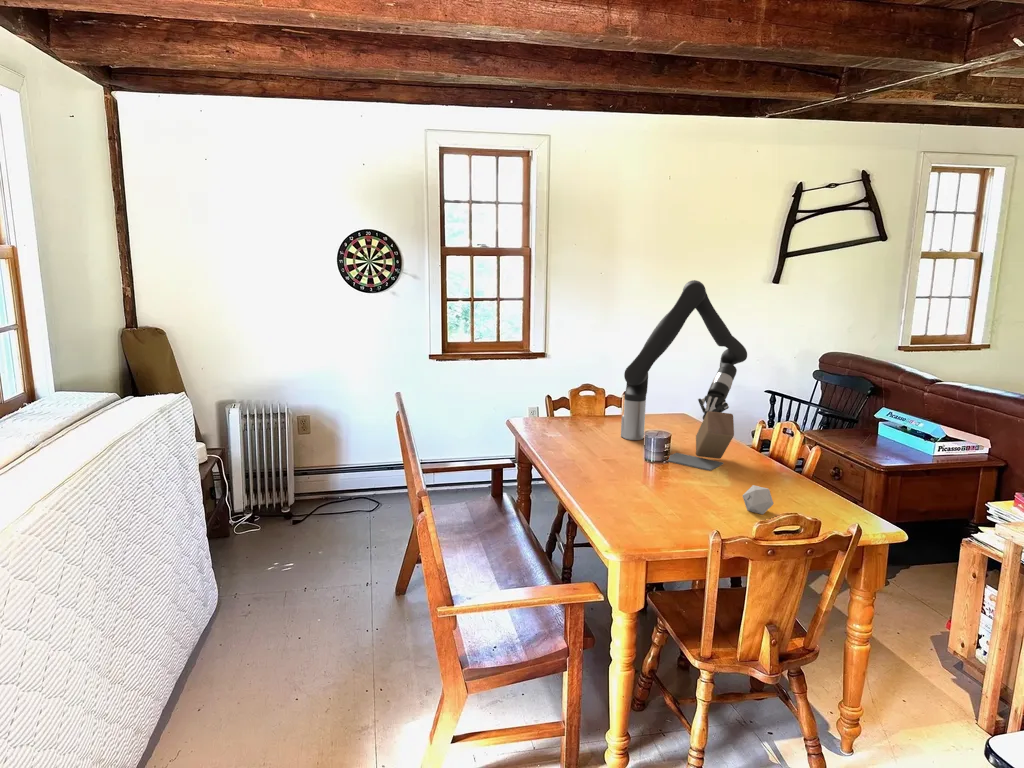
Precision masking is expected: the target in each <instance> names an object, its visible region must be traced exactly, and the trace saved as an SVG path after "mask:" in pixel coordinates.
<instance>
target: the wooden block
mask: <svg viewBox="0 0 1024 768" xmlns="http://www.w3.org/2000/svg"><path fill="white" fill-rule="evenodd" d="M734 425H735V423H734V415H733V414H732V413H727V412H712V411H708V412H707V413H706V416H705V418H704V420H703V419H702V423H701V424H700V426H699V428H698V431H697V433H696V434H695V455H696V457H700V458H707V459H717V460H719V459H720V460H721V459H722V457H723V455H724V454H725V452H726V450H727V448H728V447H729V446H730V443H731V442H732V440H733V438H734V436H735V428H734V427H735V426H734Z"/></svg>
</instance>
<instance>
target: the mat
mask: <svg viewBox="0 0 1024 768" xmlns="http://www.w3.org/2000/svg"><path fill="white" fill-rule="evenodd" d="M667 462H668V463H673V464H678V465H681V466H686V467H691V468H693V469H694V468H695V469H699V470H704V471H709V472H711V471H714V470H715V469H717V468H718V467H720V466H723V465H724V462H723V461H717V460H713V459H710V458H705V457H700V456H695V455H691V454H685V453H680V452H674V453H672V454H670V457H669V459H668V461H667Z"/></svg>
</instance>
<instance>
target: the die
mask: <svg viewBox="0 0 1024 768" xmlns="http://www.w3.org/2000/svg"><path fill="white" fill-rule="evenodd" d="M741 496H742V500H743V501H744V505H745V507H746V511H748V512H751V513H756V514H759V515H764V514H765V513H766V512H767V511H768V510H769V509H770V508H771V507H772V506H773V505H774V501H773V497H772V494H771V491H770V488H768V487H761V486H759V485H754V484H752V485H751V487H749V488H748V490H746V491H745V492H744V493H743V494H742V495H741Z"/></svg>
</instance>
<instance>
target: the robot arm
mask: <svg viewBox="0 0 1024 768" xmlns="http://www.w3.org/2000/svg"><path fill="white" fill-rule="evenodd" d="M695 310H696V311H697V313H698V314H699V316H700V318H701V319H702V321H703V323H704V325H705V327H706V328H707V331H708V333H710V335H711V338H712V339H713V341H714V342H715V344H716V345H717V346H718V347H725V348H726V349H725V350H723V352H722V354H721V356H720V360H719V368H718V370H717V372H716V374H715V376H714V378H713V379H712V382H711V384H710V386H709V388H708V391H707V393H706V395H705V396H704V397H703V398H702V399H701V398H697V401H698V404H699V406H700V408H701V410H702V413H703V416H702V421H703V420H704V418H705V416H706V413H707V412H708V411H712V412H721V413H724V411H726V410H728V409H729V408H730V406H729V404H728V402H727V401H726V399H727V398H728V395H729V393H730V391H731V389H732V386H733V382H734V380H735V377H736V375H737V371H738V370H737V367H736V366H735V365H736V364H739V363H744V362H746V360H747V358H748V351H747V349H746V347H745V346H744V345H743V343H741V341H739V340H738V339H737V337H735V336H734V335H732V333H731V331H730V330H729V328H728V327H727V324H726V323H725V322H724V321H723V319H722V317H720V315H719V313H718V312H717V310H716V309H715V307H714V306H713V304H712V302H711V300H710V298H709V296H708V294H707V290H706V287H705V285H704V284H703V282H701V281H699V280H696V279H694V280H693V279H692V280H690V281H688V282H686V283H685V285H684V286H683V289H682V292H681V293H680V296H679V297H678V299H677V300H676V303H674V306H673V307H672V308H671V309H670V310H669V311H668V312H667V314H665V315H664V316H663V318H662V319H661V320H660V321H659V322H658V324H657V325H656V326H655V328H654V329H653V330H652V331H651V333H650V335H649V336H648V339H647V340H646V342H645V343H644V345H643V347H642V349H641V350H640V352H639V353H638V355H637V356H636V357H635V359H633V360H632V361H631V363H629V365H628V366H627V367H626V368H625V370H624V373H623V375H624V380H625V382H626V386H625V391H624V397H623V398H624V402H623V408H624V409H623V415H621V422H620V424H621V425H620V437H621V438H623V439H625V440H630V441H640V440H644V439H643V437H644V438H645V424H646V422H645V421H646V405H647V400H646V399H647V394H648V384H649V371H650V369H651V368H652V366H653V365H654V364H655V362H656V361H657V360H658V359H659V358H660V357H662V355H663V354H664V353H665V352H666V351H667V350H668V349H669V347H670V346H671V344H672V343H673V342H674V340H676V338H677V336H678V334H679V333H680V331H681V330H682V328H683V326H684V325H685V323H686V321H687V319H688V318H689V317H690V315H691V314H692V313H693V311H695ZM705 403H706V407H705Z"/></svg>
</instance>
